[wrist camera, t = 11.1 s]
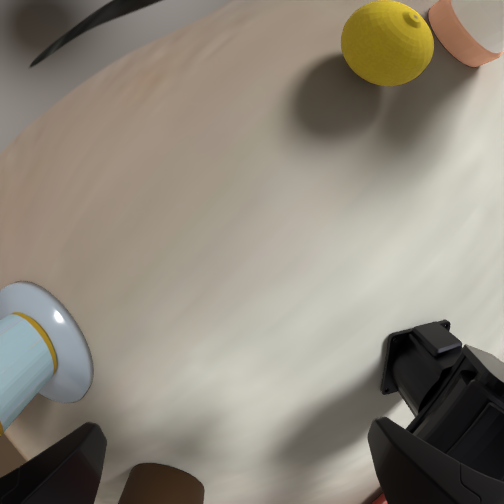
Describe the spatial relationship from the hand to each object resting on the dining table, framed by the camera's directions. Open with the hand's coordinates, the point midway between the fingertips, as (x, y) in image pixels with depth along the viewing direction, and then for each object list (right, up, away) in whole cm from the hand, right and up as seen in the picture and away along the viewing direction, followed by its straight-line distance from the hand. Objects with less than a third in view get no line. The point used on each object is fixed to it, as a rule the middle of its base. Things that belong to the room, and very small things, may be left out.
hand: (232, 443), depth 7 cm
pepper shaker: (+20, +26, +8) cm, 34 cm away
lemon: (+9, +19, +9) cm, 23 cm away
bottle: (-20, -3, +13) cm, 24 cm away
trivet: (-20, -3, +14) cm, 24 cm away
